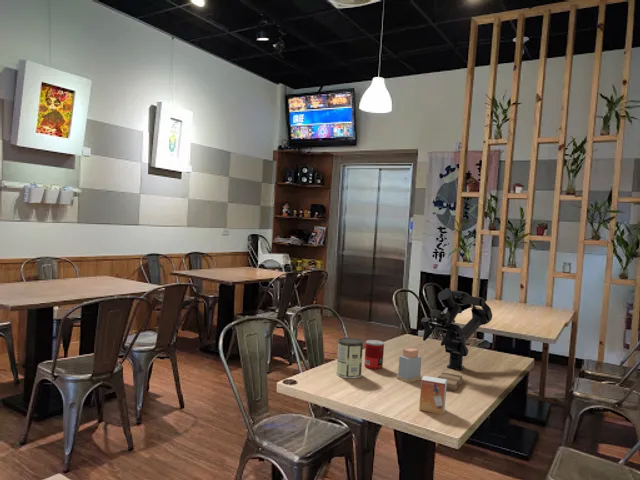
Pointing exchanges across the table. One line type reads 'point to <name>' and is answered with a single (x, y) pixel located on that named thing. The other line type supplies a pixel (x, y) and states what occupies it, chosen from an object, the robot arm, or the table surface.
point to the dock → (451, 380)
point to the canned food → (374, 354)
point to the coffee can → (349, 357)
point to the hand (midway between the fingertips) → (432, 342)
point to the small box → (433, 395)
